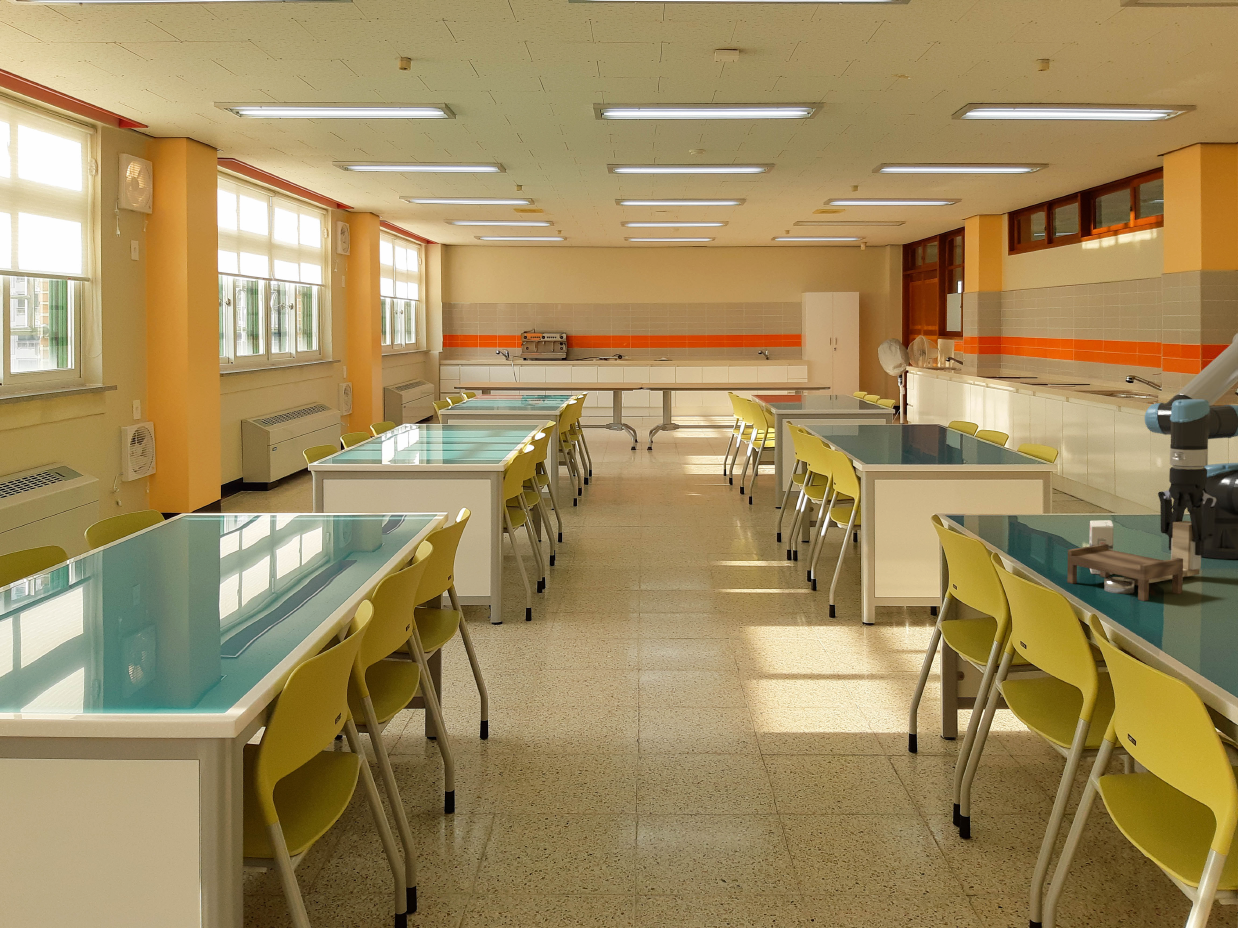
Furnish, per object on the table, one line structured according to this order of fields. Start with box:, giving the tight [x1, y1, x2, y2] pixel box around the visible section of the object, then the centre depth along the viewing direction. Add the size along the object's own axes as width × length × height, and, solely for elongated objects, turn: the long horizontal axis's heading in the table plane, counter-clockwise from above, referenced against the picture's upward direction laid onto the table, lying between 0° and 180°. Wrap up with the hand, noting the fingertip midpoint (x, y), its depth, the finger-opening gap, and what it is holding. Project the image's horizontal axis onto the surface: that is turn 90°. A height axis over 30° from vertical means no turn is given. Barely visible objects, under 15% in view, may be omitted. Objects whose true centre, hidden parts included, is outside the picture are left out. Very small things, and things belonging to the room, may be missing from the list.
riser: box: [1067, 544, 1184, 602], centre depth 223 cm, size 12×20×8 cm, turn 24°
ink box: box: [1088, 519, 1114, 576], centre depth 239 cm, size 9×5×12 cm, turn 158°
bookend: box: [1123, 520, 1201, 586], centre depth 226 cm, size 20×4×12 cm, turn 114°
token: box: [1103, 576, 1135, 595], centre depth 221 cm, size 6×6×2 cm
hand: (1185, 566), depth 230 cm, fingers closed on bookend, 4 cm apart
